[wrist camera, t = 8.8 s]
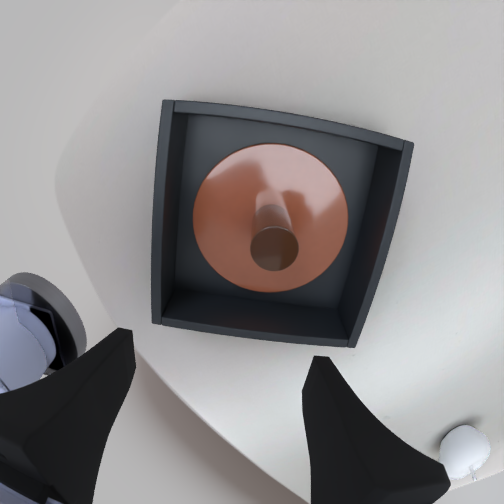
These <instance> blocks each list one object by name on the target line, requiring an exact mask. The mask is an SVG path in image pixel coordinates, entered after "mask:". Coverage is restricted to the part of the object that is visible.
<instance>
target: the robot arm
mask: <svg viewBox="0 0 504 504" xmlns="http://www.w3.org/2000/svg"><path fill="white" fill-rule="evenodd" d="M47 368H51V369H54V370H57V371H56V372H54V373H53V374H51V375H49V376H47V377H45V378H43V379H40V378H41V376H42V375H43V374H44V372H45V371H46V369H47ZM135 369H136V362H135V354H134V344H133V333H132V330H128V329H123V328H117V329H116V330H114V331H113V332H112V333H110V334H109V335H108V336H107V337H105V338H104V339H103V340H102V341H100V342H99V343H98V344H96V345H95V346H94V347H92V348H91V349H90V350H89V351H87V352H86V353H84V354H83V355H81V356H80V357H79V358H77V359H76V360H74V361H73V362H71V363H70V364H68V365H67V366H66V365H65V362H64V358H63V354H62V351H61V347H60V343H59V339H58V334H57V330H56V326H55V321H54V316H53V313H52V312H51V311H50V310H47V309H44V308H40V307H37V306H33V305H30V304H26V303H23V302H20V301H16V300H13V299H10V298H7V297H4V296H1V295H0V504H92V502H93V496H94V490H95V485H96V480H97V475H98V471H99V467H100V463H101V459H102V455H103V451H104V448H105V445H106V442H107V438H108V435H109V433H110V430H111V428H112V426H113V423H114V421H115V419H116V417H117V414H118V412H119V410H120V408H121V406H122V404H123V402H124V399H125V397H126V395H127V393H128V391H129V388H130V385H131V382H132V379H133V376H134V373H135ZM39 379H40V380H39ZM302 409H303V418H304V425H305V431H306V437H307V443H308V450H309V456H310V466H311V504H433V503H434V502H435V501H436V500H438V499H439V498H440V497H441V496H443V495H444V494H445V493H446V492H447V491H448V489H449V487H450V486H451V483H450V480H449V477H448V475H447V472H446V469H445V467H444V465H443V464H441V463H439V462H437V461H435V460H433V459H431V458H430V457H428V456H426V455H424V454H422V453H421V452H419V451H417V450H416V449H414V448H413V447H411V446H410V445H408V444H407V443H405V442H404V441H403V440H401V439H400V438H399V437H397V436H396V435H395V434H394V433H392V432H391V431H390V430H389V429H388V428H387V427H385V426H384V425H383V424H382V423H381V422H380V421H379V420H378V419H377V418H376V417H375V416H374V415H373V414H372V413H371V412H370V411H369V410H368V408H367V407H366V406H365V405H364V404H363V403H362V402H361V400H360V399H359V398H358V397H357V395H356V394H355V393H354V391H353V390H352V389H351V388H350V386H349V385H348V384H347V382H346V381H345V379H344V378H343V377H342V375H341V374H340V372H339V371H338V369H337V368H336V366H335V365H334V364H333V362H332V361H331V359H330V358H329V357H325V356H314V357H313V360H312V363H311V366H310V369H309V372H308V375H307V378H306V381H305V384H304V387H303V389H302Z"/></svg>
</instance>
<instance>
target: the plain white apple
mask: <svg viewBox="0 0 504 504" xmlns="http://www.w3.org/2000/svg"><path fill="white" fill-rule="evenodd" d="M490 450H491V446H490V442H489V439H488V438H487V436H486V435H485V434H484V433H482V432H481V431H479V430H477V429H475V428H474V427H472V426H469V425H462V426H458V427H456V428H455V429H453V430H451V431H450V432H449V433H448V434H447V435H446V437H445V438H444V439H443V440H442V442H441V445H440V453H439V461H438V462H439V463H441V464H443V465H444V467H445V469H446V472H447V475H448V477H449V479H454V480H457V479H461V478H463V477H465V476H467V475H469V474H471V475H472V478H473V480H474V481H475V480H477V478H476V476H475V470H476V469H478V468H479V467H481V466H482V465H483V464H484V462H485V461H486V459H487V458H488V456H489V454H490Z"/></svg>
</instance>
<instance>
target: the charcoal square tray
mask: <svg viewBox="0 0 504 504" xmlns="http://www.w3.org/2000/svg"><path fill="white" fill-rule="evenodd" d="M268 142H275V143H284V144H288V145H293V146H296V147H298V148H301V149H303V150H305V151H307V152H309V153H311V154H313V155H314V156H316V157H317V158H318V159H320V160H321V161H322V162H324V163H325V164H326V165H327V166H328V167H329V168H330V170H331V171H332V172H333V173H334V175H335V176H336V177H337V179H338V181H339V183H340V184H341V186H342V189H343V191H344V194H345V197H346V201H347V205H348V228H347V234H346V237H345V240H344V243H343V246H342V248H341V250H340V252H339V254H338V255H337V257H336V258H335V260H334V261H333V262H332V264H331V265H330V266H329V267H328V268H327V269H326V270H325V271H324V272H323V273H322V274H321V275H319V276H318V277H317V278H315V279H314V280H312V281H310V282H309V283H307V284H305V285H303V286H300V287H298V288H295V289H291V290H288V291H282V292H258V291H253V290H249V289H245V288H242V287H240V286H238V285H235V284H233V283H231V282H230V281H228V280H226V279H225V278H223V277H222V276H221V275H220V274H218V273H217V272H216V271H215V270H214V269H213V268H212V267H211V266H210V265H209V263H208V262H207V261H206V259H205V258H204V256H203V254H202V253H201V251H200V249H199V247H198V244H197V242H196V238H195V234H194V229H193V207H194V202H195V198H196V195H197V192H198V190H199V188H200V185H201V183H202V182H203V180H204V179H205V177H206V176H207V174H208V173H209V172H210V171H211V169H212V168H213V167H214V166H215V165H216V164H217V163H218V162H220V161H221V160H222V159H223V158H224V157H226V156H227V155H229V154H230V153H232V152H234V151H236V150H238V149H240V148H243V147H246V146H249V145H252V144H258V143H268ZM413 148H414V143H413V142H410V141H406V140H403V139H400V138H396V137H393V136H389V135H386V134H382V133H378V132H375V131H371V130H367V129H363V128H359V127H355V126H351V125H346V124H342V123H337V122H333V121H328V120H323V119H319V118H314V117H308V116H303V115H298V114H292V113H286V112H280V111H274V110H267V109H260V108H253V107H246V106H237V105H229V104H219V103H209V102H197V101H183V100H163V101H162V109H161V117H160V126H159V135H158V145H157V156H156V168H155V181H154V197H153V216H152V246H151V313H152V323H153V324H158V325H161V324H162V325H164V326H169V327H175V328H181V329H187V330H193V331H200V332H206V333H213V334H220V335H227V336H235V337H242V338H250V339H259V340H267V341H276V342H286V343H296V344H307V345H319V346H332V347H348V348H355V347H356V344H357V341H358V339H359V336H360V334H361V331H362V328H363V326H364V323H365V320H366V318H367V315H368V312H369V309H370V307H371V304H372V301H373V298H374V295H375V292H376V289H377V286H378V283H379V280H380V277H381V274H382V271H383V267H384V264H385V261H386V258H387V254H388V251H389V247H390V244H391V241H392V237H393V233H394V230H395V226H396V222H397V219H398V215H399V211H400V207H401V203H402V199H403V195H404V190H405V186H406V182H407V177H408V172H409V168H410V163H411V158H412V153H413Z"/></svg>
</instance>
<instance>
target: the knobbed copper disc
mask: <svg viewBox="0 0 504 504" xmlns="http://www.w3.org/2000/svg"><path fill="white" fill-rule="evenodd" d="M347 228H348V205H347V201H346V197H345V194H344V191H343V189H342V186H341V184H340V183H339V181H338V179H337V177H336V176H335V175H334V173H333V172H332V171H331V170H330V168H329V167H328V166H327V165H326V164H325V163H324V162H322V161H321V160H320V159H318V158H317V157H316V156H314V155H313V154H311V153H309V152H307V151H305V150H303V149H301V148H298V147H296V146H293V145H288V144H284V143H275V142H268V143H258V144H252V145H249V146H246V147H243V148H240V149H238V150H236V151H234V152H232V153H230V154H229V155H227V156H226V157H224V158H223V159H222V160H221V161H220V162H218V163H217V164H216V165H215V166H214V167H213V168H212V169H211V171H210V172H209V173H208V174H207V176H206V177H205V179H204V180H203V182H202V183H201V185H200V188H199V190H198V192H197V195H196V198H195V202H194V207H193V229H194V234H195V238H196V242H197V244H198V247H199V249H200V251H201V253H202V254H203V256H204V258H205V259H206V261H207V262H208V263H209V265H210V266H211V267H212V268H213V269H214V270H215V271H216V272H217V273H218V274H220V275H221V276H222V277H223V278H225V279H226V280H228V281H230V282H231V283H233V284H235V285H238V286H240V287H242V288H245V289H249V290H253V291H258V292H282V291H288V290H291V289H295V288H298V287H300V286H303V285H305V284H307V283H309V282H310V281H312V280H314V279H315V278H317V277H318V276H319V275H321V274H322V273H323V272H324V271H325V270H326V269H327V268H328V267H329V266H330V265H331V264H332V262H333V261H334V260H335V258H336V257H337V255H338V254H339V252H340V250H341V248H342V246H343V243H344V240H345V237H346V234H347Z"/></svg>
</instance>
